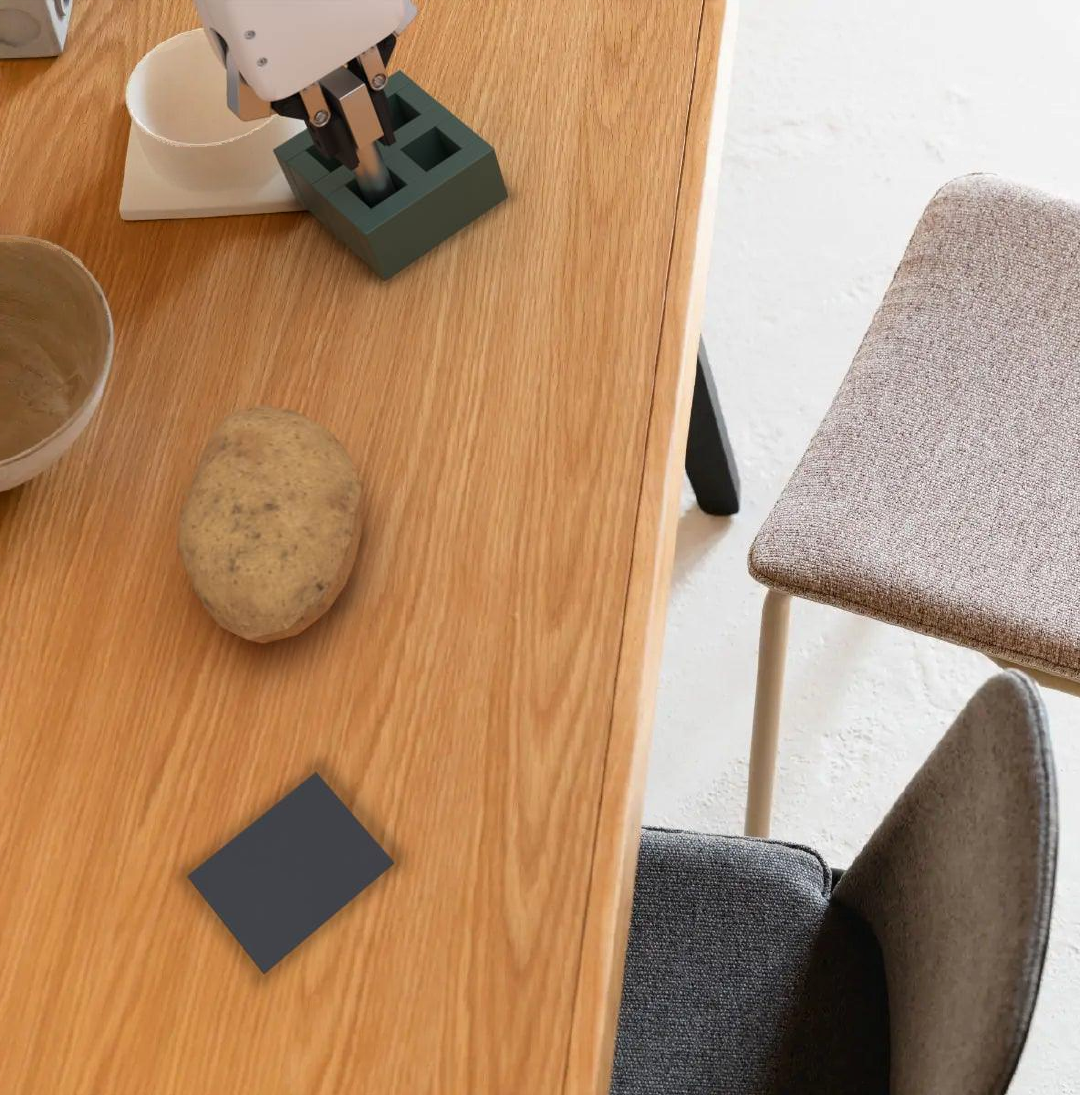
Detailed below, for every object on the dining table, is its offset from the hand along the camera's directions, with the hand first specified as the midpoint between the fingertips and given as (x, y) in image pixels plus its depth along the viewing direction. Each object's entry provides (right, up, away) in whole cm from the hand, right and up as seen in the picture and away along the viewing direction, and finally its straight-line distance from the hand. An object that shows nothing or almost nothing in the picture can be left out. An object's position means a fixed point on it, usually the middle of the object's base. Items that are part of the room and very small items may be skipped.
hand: (359, 143), depth 89 cm
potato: (-2, -26, -4) cm, 26 cm away
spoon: (0, -4, +7) cm, 9 cm away
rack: (0, -2, +9) cm, 9 cm away
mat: (+1, -41, -13) cm, 43 cm away
